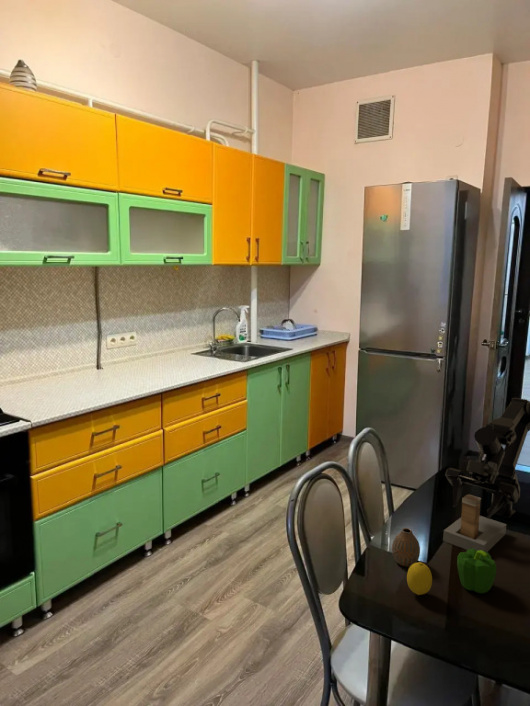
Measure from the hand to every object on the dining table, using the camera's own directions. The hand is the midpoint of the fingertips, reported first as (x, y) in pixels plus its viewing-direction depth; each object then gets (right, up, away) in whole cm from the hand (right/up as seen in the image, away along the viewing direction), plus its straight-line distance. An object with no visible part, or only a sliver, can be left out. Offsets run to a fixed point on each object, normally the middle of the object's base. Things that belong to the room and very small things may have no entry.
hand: (470, 512), depth 140 cm
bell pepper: (-6, -12, -18) cm, 23 cm away
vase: (-20, -11, -8) cm, 24 cm away
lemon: (-20, -13, -21) cm, 32 cm away
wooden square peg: (0, -9, +2) cm, 9 cm away
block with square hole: (+3, -8, +4) cm, 10 cm away
